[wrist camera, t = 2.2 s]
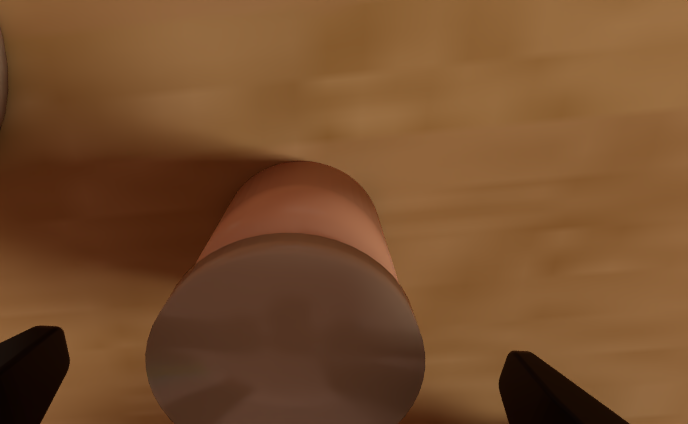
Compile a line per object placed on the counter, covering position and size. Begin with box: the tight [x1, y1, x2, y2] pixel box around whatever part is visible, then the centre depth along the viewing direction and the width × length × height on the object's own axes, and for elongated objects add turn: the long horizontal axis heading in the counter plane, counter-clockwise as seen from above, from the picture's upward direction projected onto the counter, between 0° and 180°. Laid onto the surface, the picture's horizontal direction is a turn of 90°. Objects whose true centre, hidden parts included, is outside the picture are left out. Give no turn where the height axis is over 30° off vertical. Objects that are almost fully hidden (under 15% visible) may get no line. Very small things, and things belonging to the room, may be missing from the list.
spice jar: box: [145, 161, 425, 424], centre depth 10 cm, size 5×5×6 cm
